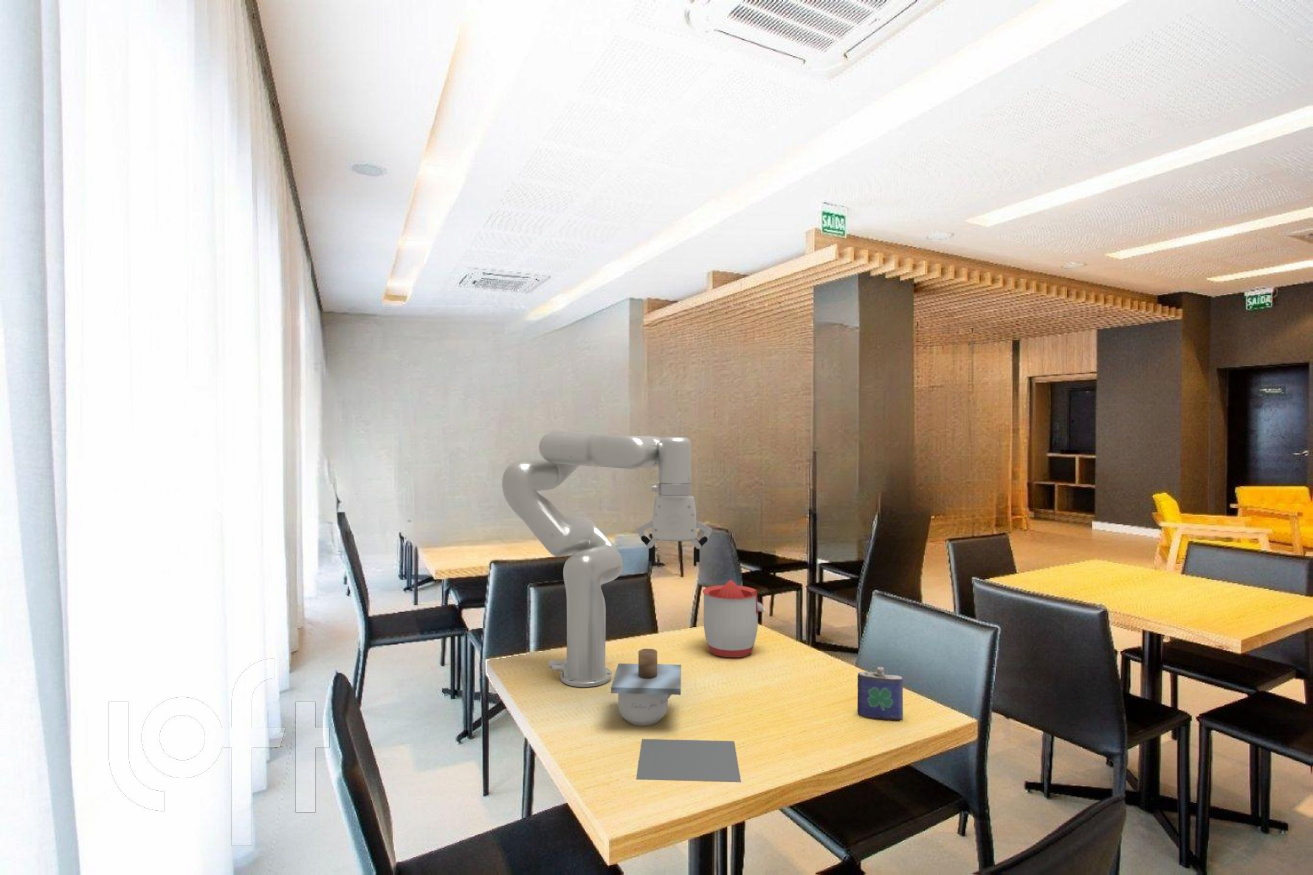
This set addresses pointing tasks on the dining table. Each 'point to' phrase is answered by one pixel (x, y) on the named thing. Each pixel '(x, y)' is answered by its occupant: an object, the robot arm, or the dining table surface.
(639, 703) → the teacup
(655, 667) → the lid
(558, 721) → the dining table surface
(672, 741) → the tray
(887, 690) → the flask
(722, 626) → the citrus juicer
